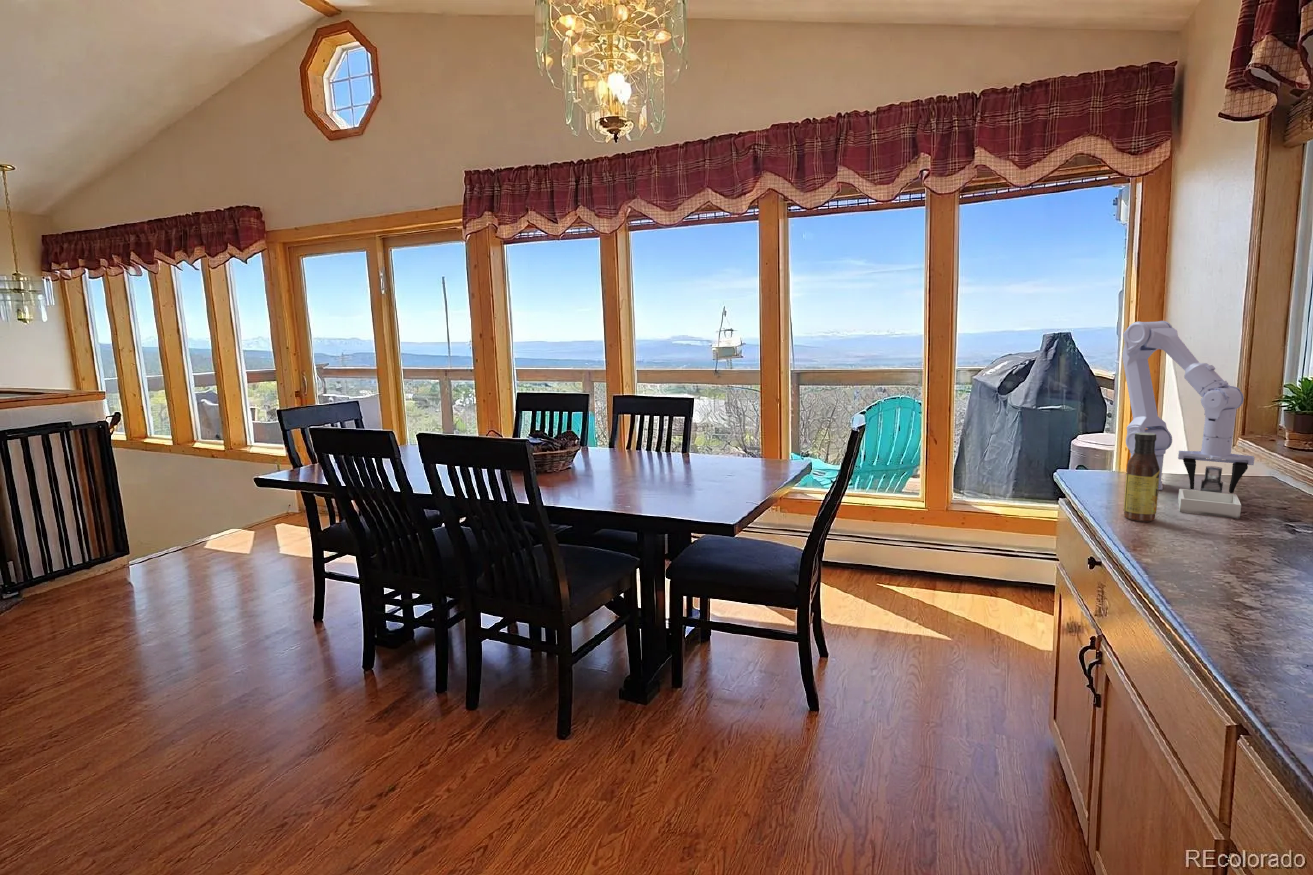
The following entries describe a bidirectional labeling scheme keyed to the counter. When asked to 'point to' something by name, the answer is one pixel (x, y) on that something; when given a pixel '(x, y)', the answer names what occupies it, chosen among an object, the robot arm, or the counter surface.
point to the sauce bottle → (1142, 480)
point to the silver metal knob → (1212, 479)
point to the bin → (1209, 503)
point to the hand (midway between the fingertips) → (1211, 490)
